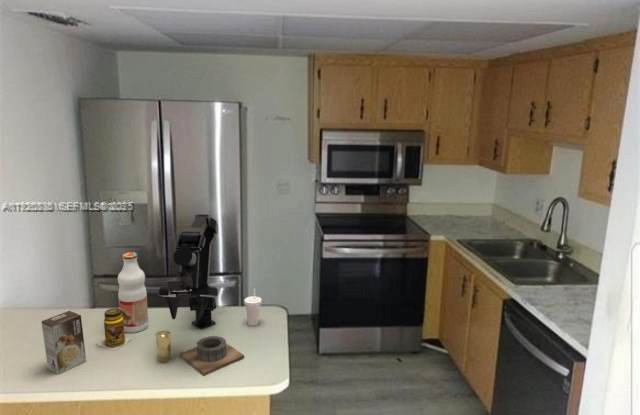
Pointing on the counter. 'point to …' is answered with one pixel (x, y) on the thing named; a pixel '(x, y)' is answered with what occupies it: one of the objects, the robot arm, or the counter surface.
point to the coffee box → (64, 341)
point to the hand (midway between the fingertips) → (186, 319)
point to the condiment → (113, 330)
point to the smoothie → (253, 309)
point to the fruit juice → (132, 295)
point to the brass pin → (163, 346)
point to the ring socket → (211, 355)
